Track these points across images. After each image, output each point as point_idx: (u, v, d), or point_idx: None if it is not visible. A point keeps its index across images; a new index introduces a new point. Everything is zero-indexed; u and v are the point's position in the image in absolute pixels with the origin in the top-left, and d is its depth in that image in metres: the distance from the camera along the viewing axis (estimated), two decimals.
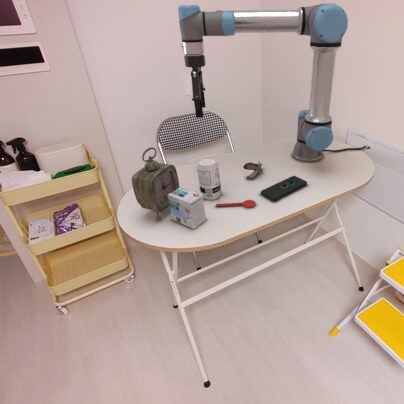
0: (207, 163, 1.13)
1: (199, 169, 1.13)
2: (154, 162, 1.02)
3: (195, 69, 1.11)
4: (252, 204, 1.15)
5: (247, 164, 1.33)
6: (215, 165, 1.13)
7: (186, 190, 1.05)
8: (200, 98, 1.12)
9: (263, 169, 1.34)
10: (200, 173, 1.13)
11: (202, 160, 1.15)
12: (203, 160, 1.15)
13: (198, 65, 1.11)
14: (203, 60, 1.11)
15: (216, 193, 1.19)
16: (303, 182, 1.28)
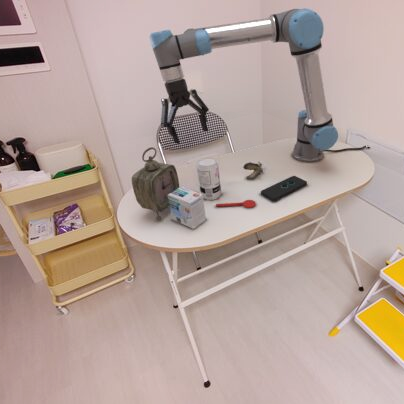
0: (207, 163, 1.13)
1: (199, 169, 1.13)
2: (154, 162, 1.02)
3: (169, 95, 1.08)
4: (252, 204, 1.15)
5: (247, 164, 1.33)
6: (215, 165, 1.13)
7: (186, 190, 1.05)
8: (169, 125, 1.10)
9: (263, 169, 1.34)
10: (200, 173, 1.13)
11: (202, 160, 1.15)
12: (203, 160, 1.15)
13: (170, 91, 1.07)
14: (176, 86, 1.06)
15: (216, 193, 1.19)
16: (303, 182, 1.28)
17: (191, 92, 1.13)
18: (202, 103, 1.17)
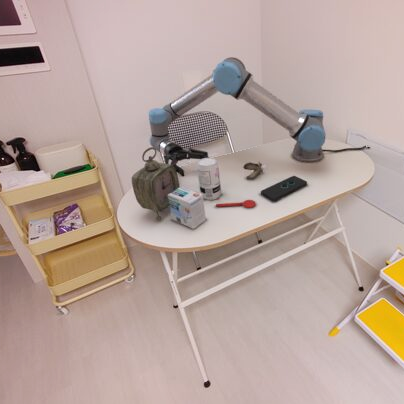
0: (207, 163, 1.13)
1: (199, 169, 1.13)
2: (154, 162, 1.02)
3: None
4: (252, 204, 1.15)
5: (247, 164, 1.33)
6: (215, 165, 1.13)
7: (186, 190, 1.05)
8: (170, 164, 1.22)
9: (263, 169, 1.34)
10: (200, 173, 1.13)
11: (202, 160, 1.15)
12: (203, 160, 1.15)
13: (167, 152, 1.31)
14: (169, 146, 1.32)
15: (216, 193, 1.19)
16: (303, 182, 1.28)
17: (188, 150, 1.35)
18: (199, 151, 1.34)
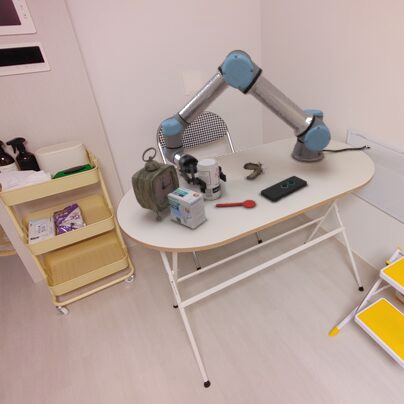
0: (207, 163, 1.13)
1: (199, 169, 1.13)
2: (154, 162, 1.02)
3: (183, 168, 1.24)
4: (252, 204, 1.15)
5: (247, 164, 1.33)
6: (215, 165, 1.13)
7: (186, 190, 1.05)
8: None
9: (263, 169, 1.34)
10: (200, 173, 1.13)
11: (202, 160, 1.15)
12: (203, 160, 1.15)
13: (182, 164, 1.25)
14: (184, 158, 1.26)
15: (216, 193, 1.19)
16: (303, 182, 1.28)
17: None
18: None
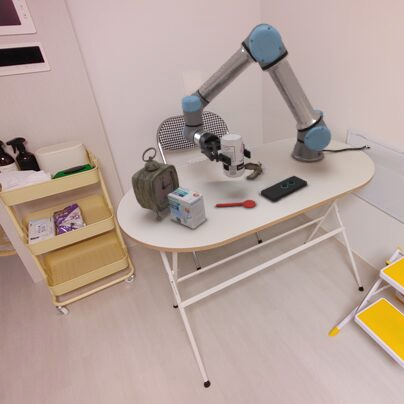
0: (232, 138, 1.08)
1: (223, 144, 1.07)
2: (154, 162, 1.02)
3: (205, 146, 1.19)
4: (252, 204, 1.15)
5: (247, 164, 1.33)
6: (240, 140, 1.08)
7: (186, 190, 1.05)
8: (215, 153, 1.11)
9: (263, 169, 1.34)
10: (224, 148, 1.08)
11: (226, 135, 1.10)
12: (227, 135, 1.10)
13: (203, 142, 1.20)
14: (205, 135, 1.20)
15: (240, 170, 1.13)
16: (303, 182, 1.28)
17: None
18: None
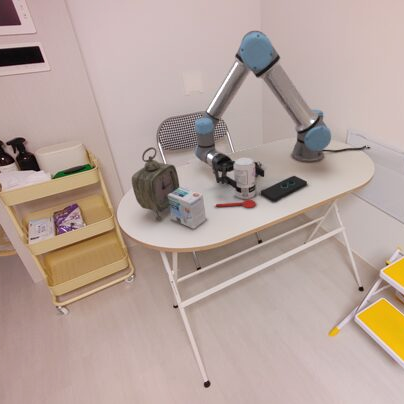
0: (244, 162, 1.14)
1: (237, 168, 1.13)
2: (154, 162, 1.02)
3: (217, 167, 1.25)
4: (252, 204, 1.15)
5: None
6: (252, 164, 1.13)
7: (186, 190, 1.05)
8: (221, 176, 1.16)
9: (263, 169, 1.34)
10: (237, 172, 1.13)
11: (239, 159, 1.16)
12: (240, 159, 1.16)
13: (216, 163, 1.25)
14: (217, 156, 1.26)
15: (252, 192, 1.19)
16: (303, 182, 1.28)
17: None
18: None
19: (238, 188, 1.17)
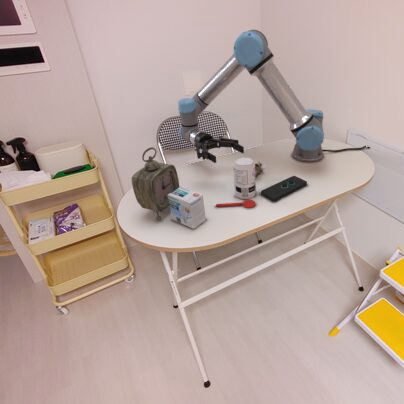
0: (244, 162, 1.14)
1: (237, 168, 1.13)
2: (154, 162, 1.02)
3: (199, 144, 1.29)
4: (252, 204, 1.15)
5: None
6: (252, 164, 1.13)
7: (186, 190, 1.05)
8: None
9: (263, 169, 1.34)
10: (237, 172, 1.13)
11: (239, 159, 1.16)
12: (240, 159, 1.16)
13: (198, 140, 1.30)
14: (199, 134, 1.31)
15: (252, 192, 1.19)
16: (303, 182, 1.28)
17: (218, 139, 1.33)
18: (230, 139, 1.31)
19: (238, 188, 1.17)
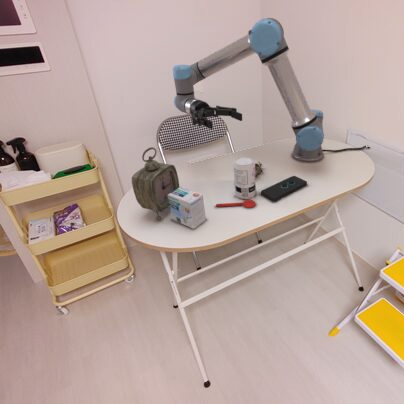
0: (244, 162, 1.14)
1: (237, 168, 1.13)
2: (154, 162, 1.02)
3: (195, 112, 1.22)
4: (252, 204, 1.15)
5: None
6: (252, 164, 1.13)
7: (186, 190, 1.05)
8: (197, 117, 1.13)
9: (263, 169, 1.34)
10: (237, 172, 1.13)
11: (239, 159, 1.16)
12: (240, 159, 1.16)
13: (194, 108, 1.22)
14: (195, 102, 1.23)
15: (252, 192, 1.19)
16: (303, 182, 1.28)
17: None
18: (228, 107, 1.24)
19: (238, 188, 1.17)
